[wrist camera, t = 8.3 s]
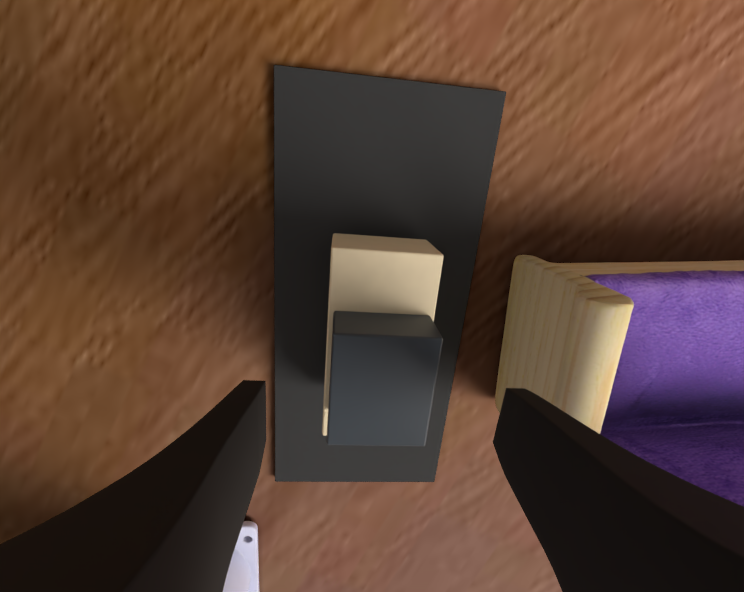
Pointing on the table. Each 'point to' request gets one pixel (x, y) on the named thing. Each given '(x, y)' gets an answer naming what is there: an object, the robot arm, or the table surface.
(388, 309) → the toy car
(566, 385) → the toy sofa
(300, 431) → the mat
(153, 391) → the table surface
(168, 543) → the robot arm
